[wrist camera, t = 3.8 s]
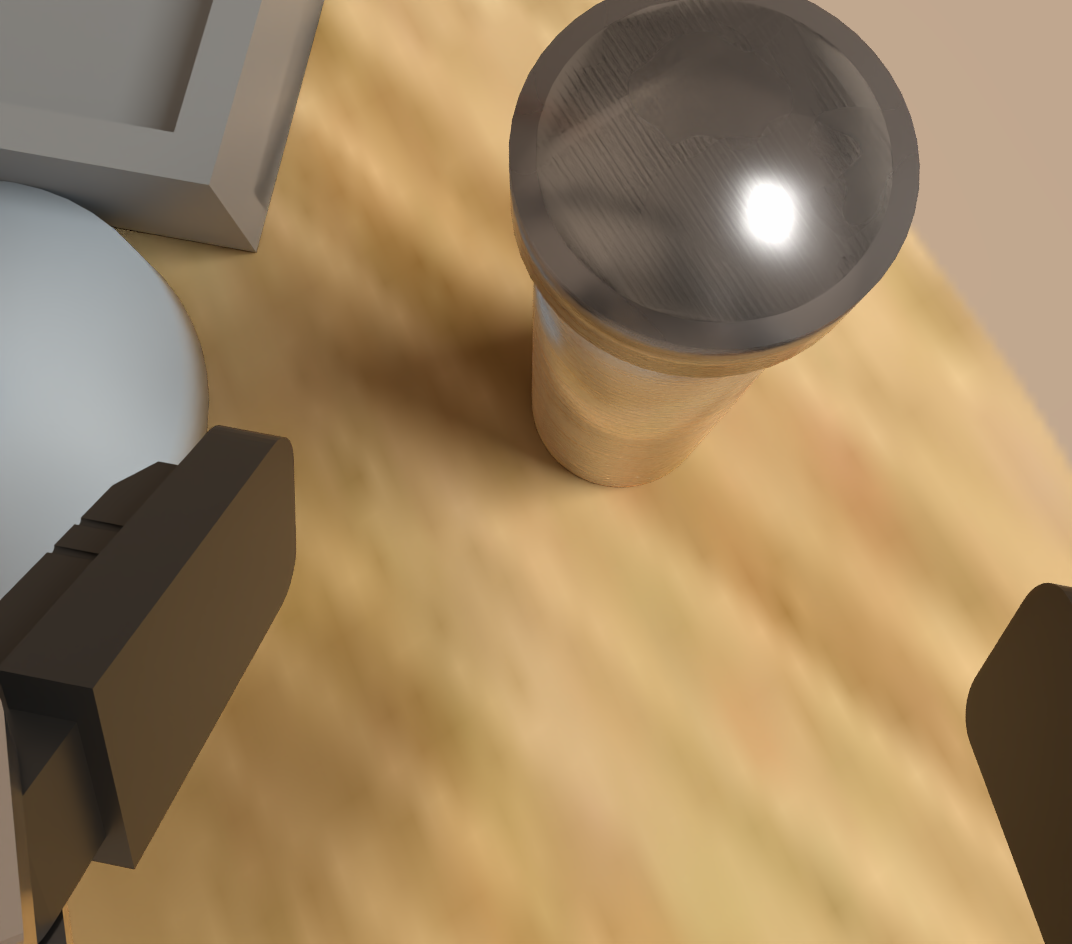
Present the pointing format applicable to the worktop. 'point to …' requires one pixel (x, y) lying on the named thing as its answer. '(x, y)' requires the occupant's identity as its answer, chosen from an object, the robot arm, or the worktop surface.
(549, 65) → the salt shaker
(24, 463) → the pot lid
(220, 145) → the tray
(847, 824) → the worktop surface
